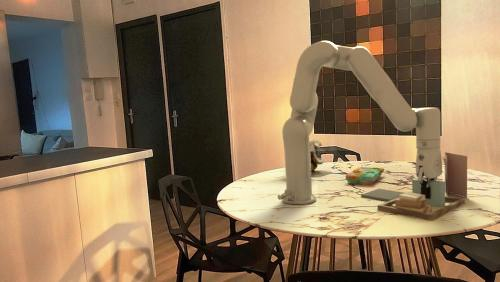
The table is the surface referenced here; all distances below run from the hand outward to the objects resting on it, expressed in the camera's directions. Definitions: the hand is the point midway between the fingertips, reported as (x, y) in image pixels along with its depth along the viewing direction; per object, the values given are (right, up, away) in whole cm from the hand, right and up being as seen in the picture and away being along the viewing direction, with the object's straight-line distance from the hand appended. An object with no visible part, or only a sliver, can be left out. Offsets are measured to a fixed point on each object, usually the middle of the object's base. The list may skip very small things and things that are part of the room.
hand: (428, 196), depth 142 cm
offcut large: (-9, -4, -7) cm, 12 cm away
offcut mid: (-9, -2, -7) cm, 11 cm away
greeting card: (+14, -1, +9) cm, 16 cm away
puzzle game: (-10, +1, +42) cm, 43 cm away
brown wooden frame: (-4, -3, -3) cm, 6 cm away
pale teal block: (0, -2, 0) cm, 2 cm away
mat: (-11, -2, +13) cm, 17 cm away
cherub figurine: (-32, +3, +62) cm, 69 cm away
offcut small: (-9, 0, -8) cm, 12 cm away
